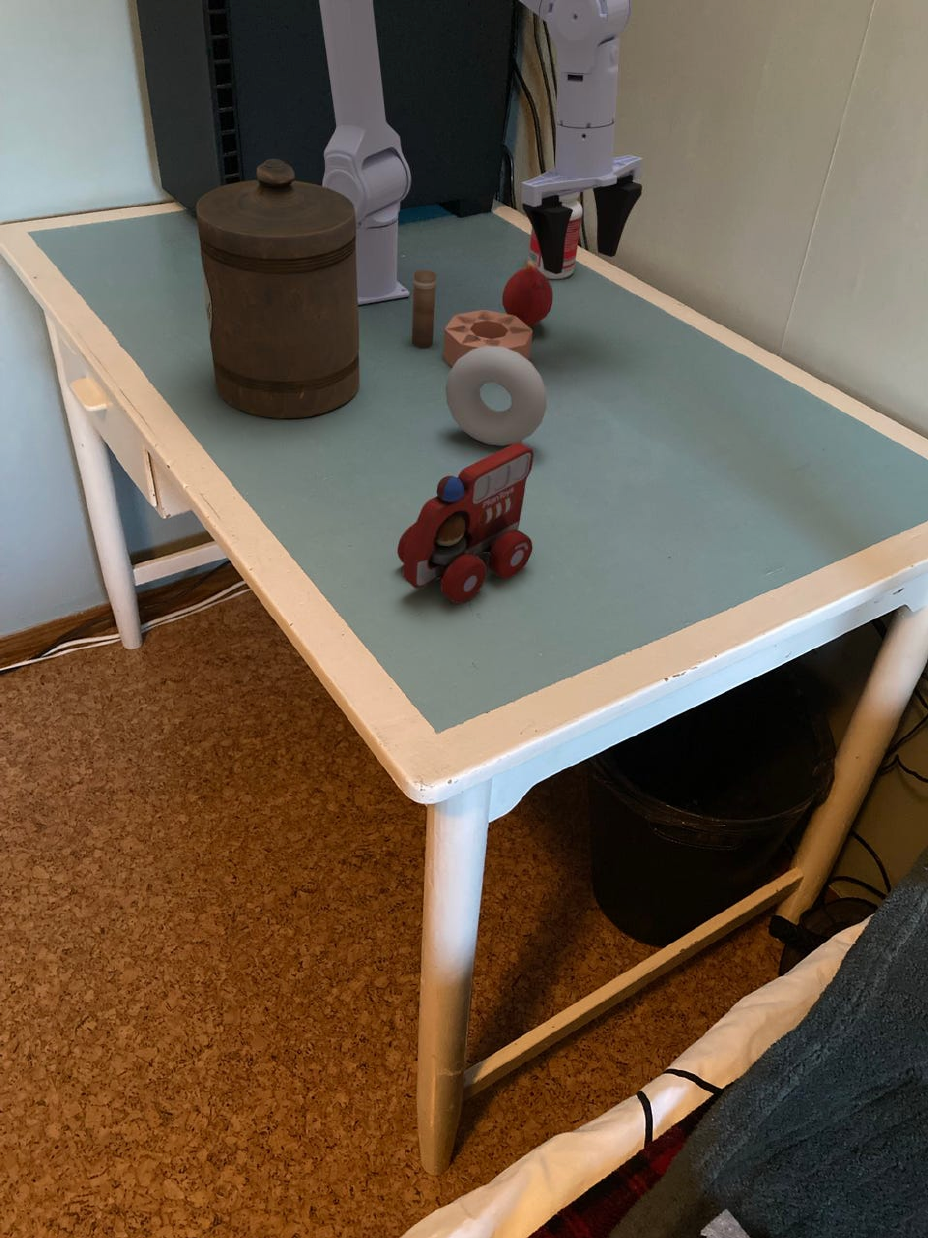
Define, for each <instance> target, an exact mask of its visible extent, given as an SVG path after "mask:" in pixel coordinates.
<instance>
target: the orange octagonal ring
mask: <svg viewBox="0 0 928 1238" xmlns="http://www.w3.org/2000/svg"><path fill="white" fill-rule="evenodd" d="M533 331H534V330H533V329H532V328H531V327H528V326H527V325H526V324H525V323H523V322H522V321H521V320H520V319H519V318H517V317H516V316H513V315H508V314H507V313H501V312H498V311H497V312H496V311H492V310H486V309H481V310H480V309H479V310H475V311H469V312H464V313H457V314H454V315H453V317H452V318H451V319H450V321H449V323H448V324H447V325H446V326H445V328H444V336H443V338H444V339H443V351H442V357H443V358H442V359H443V360H444V361H445V362H446V363H447V364H448V365H449V366H450V367H451V369H452V368H453V366H454V365H455V363H456V362H457V360H458V359H459V358H461V357H462V356H464V355H465V354H467V353H468V352H469V351H471V350H473V349H476V348H480V347H484V346H497V347H504V348H507V349H510V350H512V351H515V352H517V353H519V354H520V355H522V356H523V357H524V358H526V359H527V360H528V361H530V354H531V349H532V348H531V347H532V340H533Z"/></svg>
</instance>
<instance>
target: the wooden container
mask: <svg viewBox="0 0 928 1238" xmlns="http://www.w3.org/2000/svg"><path fill="white" fill-rule="evenodd" d="M295 177H296V175H295V171H294V170H293V168H292V166H290V165H289V164H287V163H285V162H284V160H281V159H279V158H270V159H266V160H265V161H264V162H263V163H261V164H259V165H258V166H257V168H256V178H257V179H253V180H245V181H244V180H243V181H238V182H233V183H232V182H231V183H229V184H225V185H221V186H218V187H216V188H214V189H212V190H210V191H208V192H207V193H205V194H203V195H201V197H200V198H199V200H198V201H197V203H196V205H195V207H196V212H195V213H196V220H197V221H196V222H197V230H198V237H199V242H200V243H199V245H200V254H201V266H202V275H203V276H202V278H203V286H204V296H205V298H204V299H205V308H206V309H205V310H206V317H207V319H206V320H207V328H208V334H209V342H210V350H211V356H212V364H213V365H212V366H213V373H214V380H215V386H216V389H217V392H218V394H219V395H220V397H221V398H222V399H223V400H224V401H225V402H227V403H228V405H229V404H230V406H232V407H233V408H236V409H238V410H240V411H243V412H246V413H248V414H251V415H255V416H259V417H260V416H261V417H264V418H265V417H266V418H274V419H275V418H276V419H298V418H299V419H300V418H308V417H312V416H317V415H322V414H325V413H329V412H330V411H334V410H335V409H338V408H340V407H342V406H344V405H345V404H346V403H347V402H349V401H350V400H352V398H353V397H354V396H355V395H356V393H357V391H358V389H359V386H360V322H359V321H360V320H359V305H358V295H357V267H356V217H355V208H354V205H353V203H352V202H351V201H350V200H349V199H348V198H347V197H345V196H344V195H342V194H340V193H338V192H336V191H334V190H332V189H329V188H326V187H323V186H322V185H318V184H314V183H310V182H304V181H299V180H295Z"/></svg>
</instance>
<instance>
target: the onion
mask: <svg viewBox="0 0 928 1238" xmlns="http://www.w3.org/2000/svg"><path fill="white" fill-rule="evenodd" d="M553 293H554V292H553V287H552V285H551V283H550V281H549V280H548V278H546V277H545V276H544V275H543V274H542V273H541V272H540V271H539V270H538V269H537V268H536V267H535V266H534V264H533V262H531V261H528V260H527V261H525V265H524V268H521V269H520V270H518V271H516V272H515V273H514V274H513V275H511V276H510V278H509V279H508V281H506V283H505V285H504V287H503V291H502V296H501V297H502V301H501V302H502V303H501V304H502V307H503V309H504V311H505V314H508V315H513V316H516V317H517V318H519V319H520V320H521V321H522V322H523V323H525V324H526V325H527V326H528V327H529V328H531V327H533V326H535V325H537V324H539V323H540V322H541V321H543V320H544V319H545V318H547V317H548V314H550V312H551V309H552V306H553V298H554V296H553Z"/></svg>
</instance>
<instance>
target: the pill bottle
mask: <svg viewBox="0 0 928 1238" xmlns="http://www.w3.org/2000/svg"><path fill="white" fill-rule="evenodd" d="M580 193H581V192H578V193H574V194H570V195H567V196H563V197H559V202H562V206H565V207H568V208H571V209H572V210H573V212H572V215H571V218H570V221H569V224H568V228H567V232H566V238H565V245H564V262H563V268H562V272H561V273H559V274H554V273H551V272H549V271H546V270H544V265H543V261H542V256H541V252H540V248H539V244H538V241H537V238H536V235H535V232H534V230H533V227H532V226H531V231H530V232H531V233H530V241H529V249H528V257H527V258H528V259H527V261H531V262H533V264H534V266H535V267H536V268H537V269H538V270H539V271H540V272H541V273H542V274H543V275H544V276H545V277H546V278H547V279H549V280H560V279H564V278H568V277H570V276H571V275H572V274H573V273H574V271H575V268H576V260H577V254H578V246H579V239H580V232H581V225H582V218H583V206H582V205H581V204H580V202H579V201H578V200H577V199H579V198H580V195H581V194H580Z"/></svg>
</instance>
